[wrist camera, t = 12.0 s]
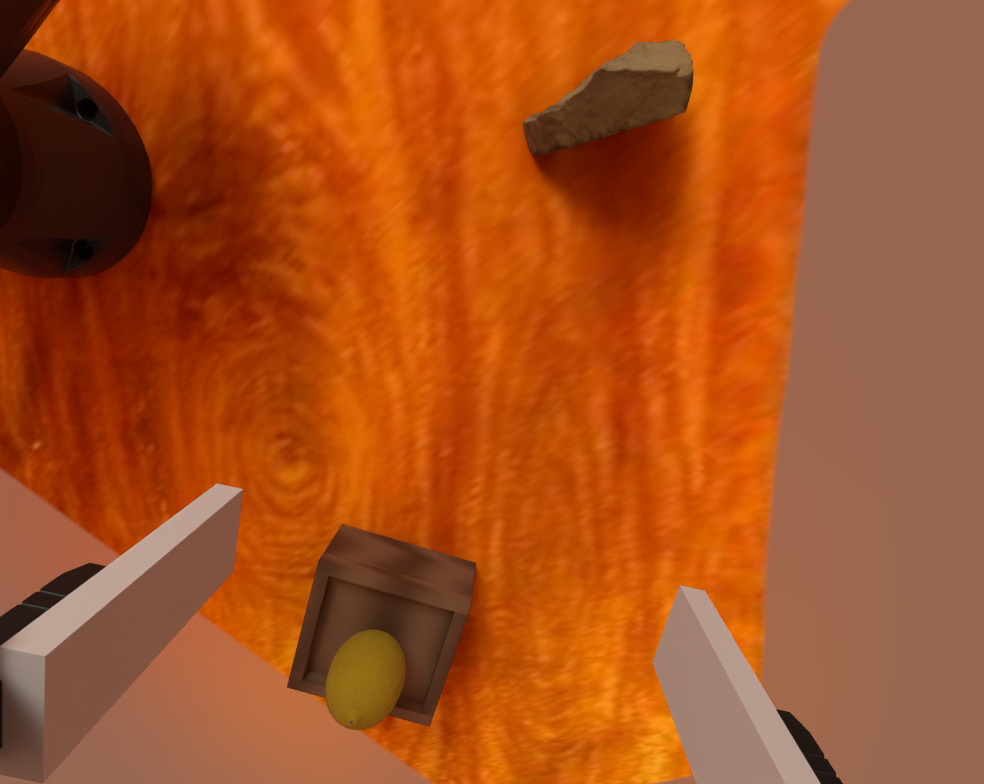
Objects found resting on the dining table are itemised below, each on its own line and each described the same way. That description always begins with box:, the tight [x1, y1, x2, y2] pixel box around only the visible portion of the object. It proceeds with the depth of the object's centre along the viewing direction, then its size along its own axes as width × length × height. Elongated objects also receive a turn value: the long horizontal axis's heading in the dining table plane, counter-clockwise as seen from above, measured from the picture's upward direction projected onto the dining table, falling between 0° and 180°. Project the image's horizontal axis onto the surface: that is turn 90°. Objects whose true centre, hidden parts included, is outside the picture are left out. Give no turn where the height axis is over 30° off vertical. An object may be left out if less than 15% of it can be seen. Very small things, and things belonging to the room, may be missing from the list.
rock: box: [523, 39, 693, 155], centre depth 33 cm, size 11×9×10 cm
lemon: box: [325, 629, 406, 730], centre depth 38 cm, size 6×6×8 cm
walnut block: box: [287, 524, 476, 727], centre depth 44 cm, size 12×12×6 cm
